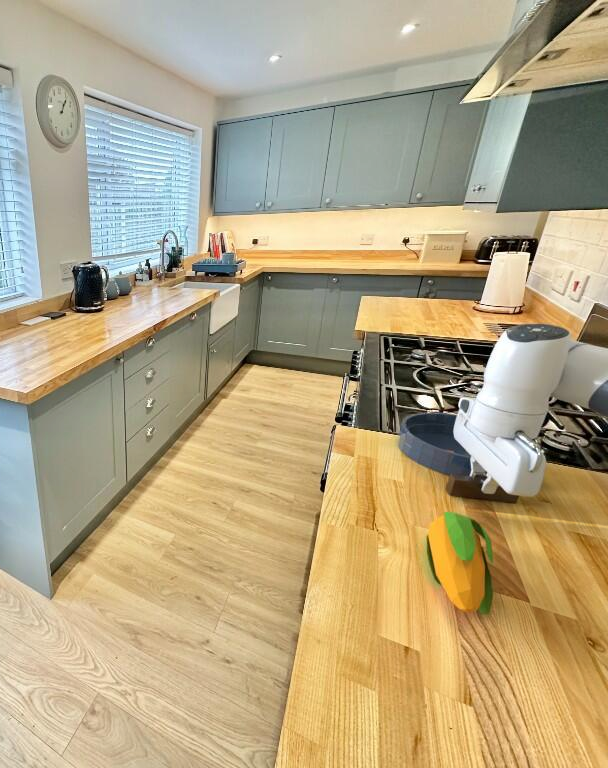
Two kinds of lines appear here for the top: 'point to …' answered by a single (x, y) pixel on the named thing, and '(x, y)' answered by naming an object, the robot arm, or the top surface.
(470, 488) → the brown bar
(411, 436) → the bowl
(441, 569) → the corn
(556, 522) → the top surface
